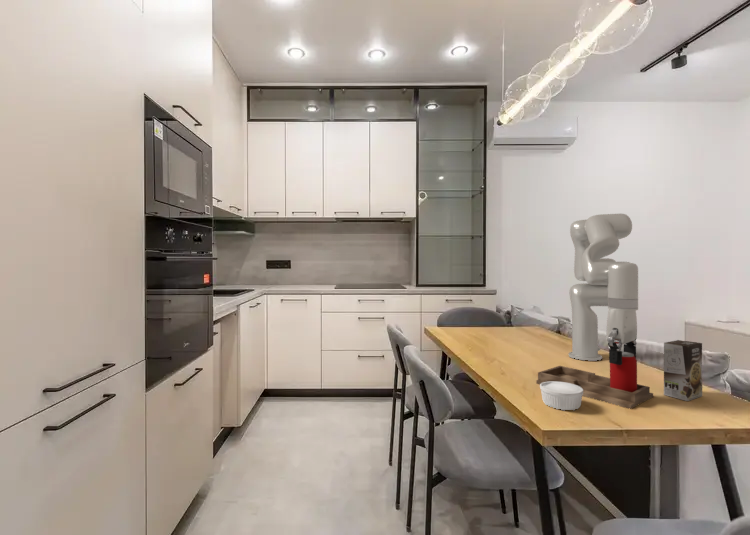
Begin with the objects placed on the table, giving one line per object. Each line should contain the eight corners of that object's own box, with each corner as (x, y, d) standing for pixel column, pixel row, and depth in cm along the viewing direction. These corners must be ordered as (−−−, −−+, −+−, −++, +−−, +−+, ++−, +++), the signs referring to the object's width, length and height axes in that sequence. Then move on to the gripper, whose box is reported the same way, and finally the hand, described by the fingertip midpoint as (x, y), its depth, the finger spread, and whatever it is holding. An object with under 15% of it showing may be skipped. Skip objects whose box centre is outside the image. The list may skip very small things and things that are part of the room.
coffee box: (688, 401, 107) (688, 346, 107) (662, 395, 113) (662, 342, 113) (703, 396, 111) (703, 342, 111) (678, 390, 117) (677, 339, 117)
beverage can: (628, 389, 114) (628, 351, 114) (642, 397, 107) (642, 356, 107) (605, 389, 115) (605, 350, 115) (617, 397, 108) (617, 356, 108)
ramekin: (548, 395, 114) (548, 378, 114) (589, 405, 106) (589, 386, 106) (533, 405, 106) (533, 386, 106) (575, 416, 98) (575, 396, 98)
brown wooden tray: (536, 383, 125) (536, 372, 125) (561, 374, 134) (561, 365, 134) (630, 408, 102) (630, 396, 102) (653, 396, 112) (653, 385, 111)
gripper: (621, 300, 119) (621, 353, 119) (595, 305, 109) (595, 363, 109) (649, 302, 113) (648, 358, 113) (624, 308, 103) (624, 369, 103)
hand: (622, 360), depth 111 cm, fingers open, 9 cm apart
